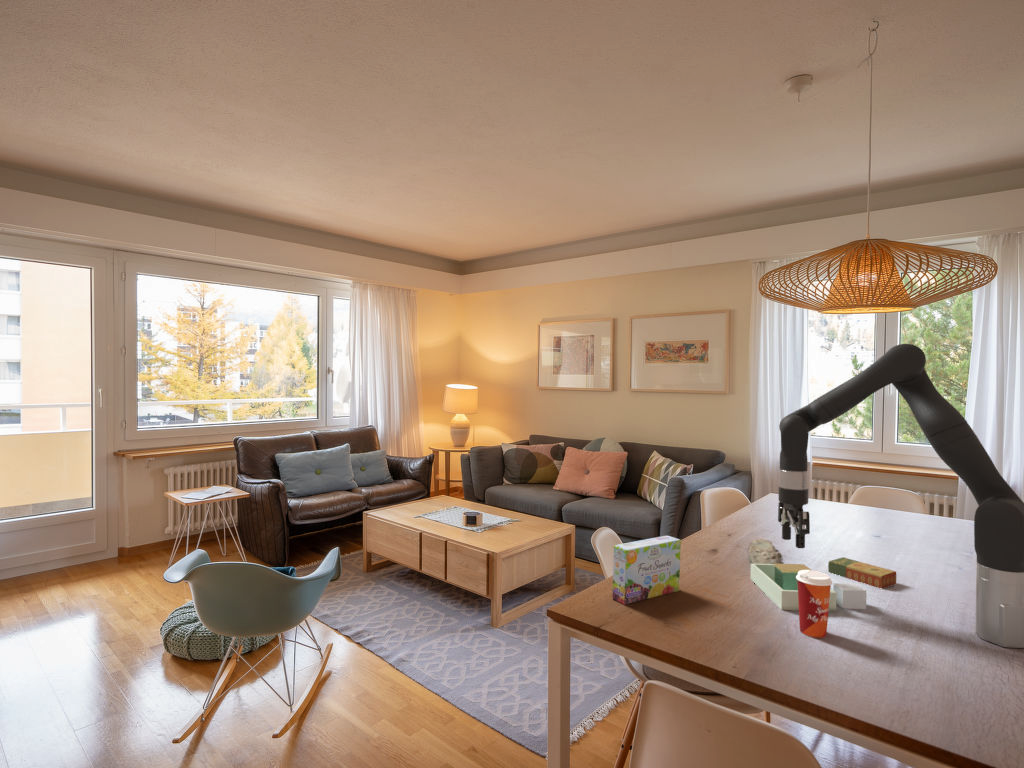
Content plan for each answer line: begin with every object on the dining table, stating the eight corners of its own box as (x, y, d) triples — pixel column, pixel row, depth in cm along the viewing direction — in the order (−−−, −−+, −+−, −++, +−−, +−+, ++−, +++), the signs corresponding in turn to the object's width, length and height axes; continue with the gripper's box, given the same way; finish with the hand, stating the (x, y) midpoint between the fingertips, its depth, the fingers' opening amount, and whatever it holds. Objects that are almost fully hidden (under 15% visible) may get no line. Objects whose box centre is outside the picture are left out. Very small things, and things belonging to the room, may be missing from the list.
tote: (836, 611, 146) (836, 592, 146) (781, 609, 147) (781, 590, 147) (797, 581, 168) (798, 564, 168) (750, 579, 169) (750, 563, 169)
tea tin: (813, 596, 154) (813, 571, 154) (782, 595, 155) (782, 570, 155) (803, 588, 160) (803, 564, 160) (773, 588, 161) (773, 563, 160)
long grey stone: (776, 551, 203) (746, 549, 207) (775, 536, 204) (746, 535, 207) (785, 577, 171) (750, 574, 174) (784, 559, 171) (749, 557, 175)
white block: (866, 609, 148) (866, 590, 148) (842, 608, 149) (842, 590, 149) (855, 602, 153) (856, 583, 153) (833, 601, 154) (833, 583, 154)
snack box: (626, 606, 149) (626, 549, 148) (611, 599, 153) (612, 544, 153) (680, 591, 160) (681, 538, 160) (665, 584, 165) (666, 533, 164)
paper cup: (816, 642, 129) (817, 581, 129) (787, 628, 136) (788, 571, 136) (839, 636, 132) (840, 577, 132) (810, 623, 139) (811, 567, 139)
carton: (881, 590, 163) (881, 575, 163) (827, 573, 177) (827, 560, 177) (896, 585, 167) (896, 570, 167) (842, 569, 181) (842, 555, 181)
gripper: (819, 491, 150) (819, 551, 150) (795, 481, 164) (795, 537, 164) (791, 490, 150) (790, 550, 150) (769, 481, 165) (769, 536, 165)
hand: (793, 543), depth 157 cm, fingers open, 8 cm apart
